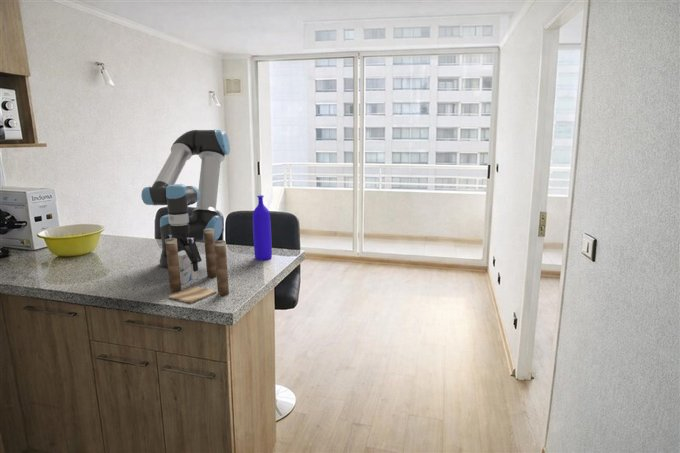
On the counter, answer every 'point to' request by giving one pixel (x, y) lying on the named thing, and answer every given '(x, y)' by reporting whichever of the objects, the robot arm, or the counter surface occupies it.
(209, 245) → the gate post
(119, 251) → the counter surface
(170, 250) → the gate post
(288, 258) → the counter surface
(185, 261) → the ink box
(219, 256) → the corner post
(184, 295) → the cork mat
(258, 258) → the bottle
